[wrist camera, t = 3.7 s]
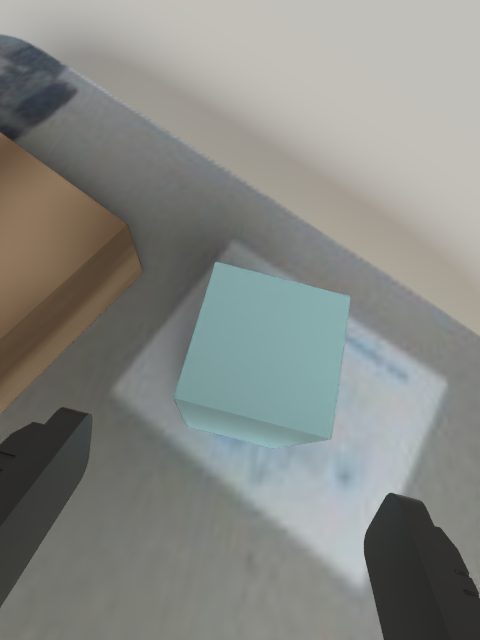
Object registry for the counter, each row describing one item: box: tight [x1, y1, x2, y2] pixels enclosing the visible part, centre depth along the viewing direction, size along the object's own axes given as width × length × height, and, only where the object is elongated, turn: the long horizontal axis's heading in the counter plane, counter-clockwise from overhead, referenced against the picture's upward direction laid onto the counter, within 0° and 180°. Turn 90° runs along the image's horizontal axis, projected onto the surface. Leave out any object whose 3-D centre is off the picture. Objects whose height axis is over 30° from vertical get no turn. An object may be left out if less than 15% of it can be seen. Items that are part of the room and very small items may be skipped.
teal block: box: [173, 262, 351, 449], centre depth 15 cm, size 4×4×9 cm
